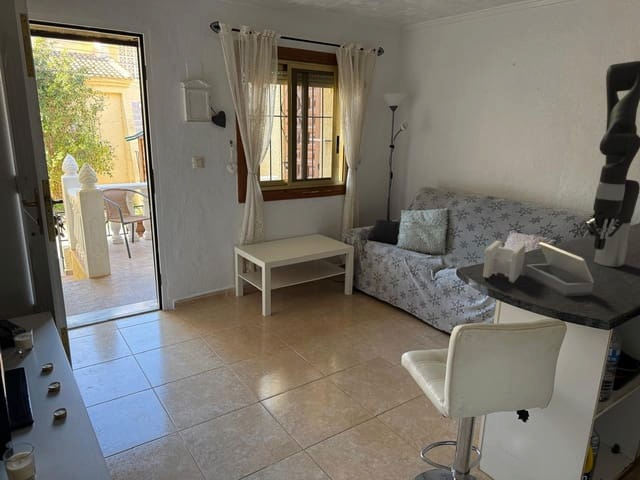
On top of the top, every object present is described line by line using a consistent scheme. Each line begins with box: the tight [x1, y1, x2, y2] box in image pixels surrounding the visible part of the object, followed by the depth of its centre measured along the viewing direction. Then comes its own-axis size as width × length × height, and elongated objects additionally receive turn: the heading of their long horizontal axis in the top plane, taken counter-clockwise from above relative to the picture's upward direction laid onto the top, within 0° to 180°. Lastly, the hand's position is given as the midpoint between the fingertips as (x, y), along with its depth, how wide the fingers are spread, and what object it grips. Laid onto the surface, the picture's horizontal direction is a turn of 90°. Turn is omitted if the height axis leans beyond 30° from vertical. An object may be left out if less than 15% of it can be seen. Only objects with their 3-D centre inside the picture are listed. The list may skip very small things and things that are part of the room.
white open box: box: [523, 263, 594, 298], centre depth 153 cm, size 10×20×4 cm, turn 13°
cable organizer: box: [482, 240, 526, 284], centre depth 158 cm, size 15×11×12 cm
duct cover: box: [538, 241, 595, 284], centre depth 152 cm, size 10×20×1 cm
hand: (598, 249), depth 149 cm, fingers closed
